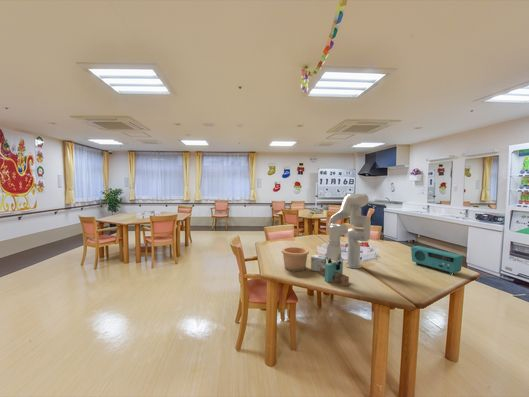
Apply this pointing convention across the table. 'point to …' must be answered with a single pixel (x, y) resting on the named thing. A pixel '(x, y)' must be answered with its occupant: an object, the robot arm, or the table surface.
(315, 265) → the light bulb box
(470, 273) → the table surface
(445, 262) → the radio
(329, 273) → the teal panel
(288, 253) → the pottery
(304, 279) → the table surface
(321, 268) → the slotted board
